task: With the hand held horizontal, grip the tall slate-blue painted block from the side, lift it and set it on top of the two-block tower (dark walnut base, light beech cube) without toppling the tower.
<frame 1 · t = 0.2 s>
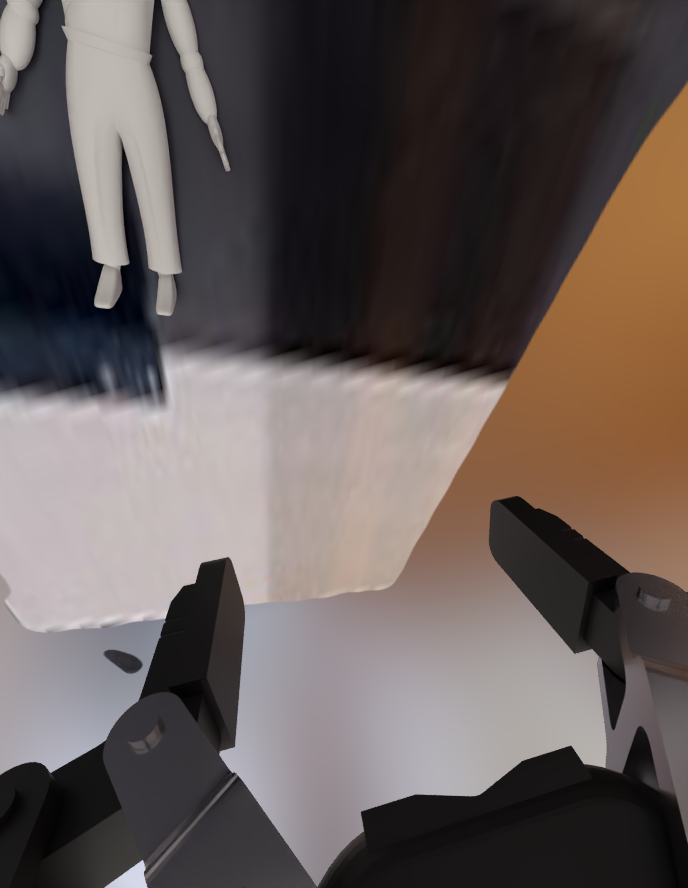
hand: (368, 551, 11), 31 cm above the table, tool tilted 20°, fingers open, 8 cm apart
figurine: (125, 107, 25), on the table
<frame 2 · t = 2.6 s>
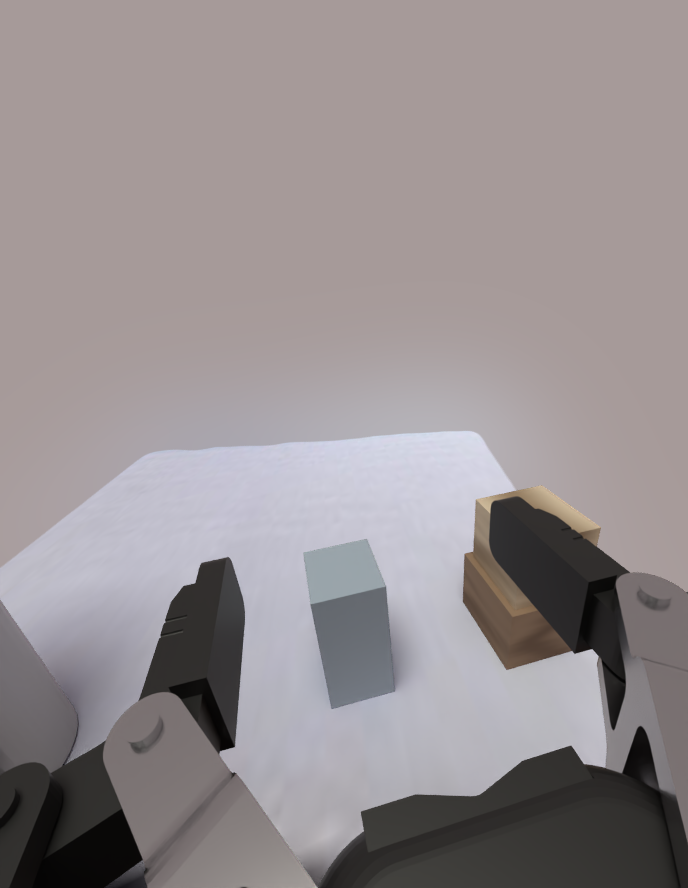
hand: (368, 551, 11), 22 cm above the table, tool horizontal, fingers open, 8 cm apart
beech block: (525, 572, 30), point 6 cm above the table, touching walnut block
slate block: (356, 669, 30), on the table
walnut block: (518, 623, 33), on the table, touching beech block
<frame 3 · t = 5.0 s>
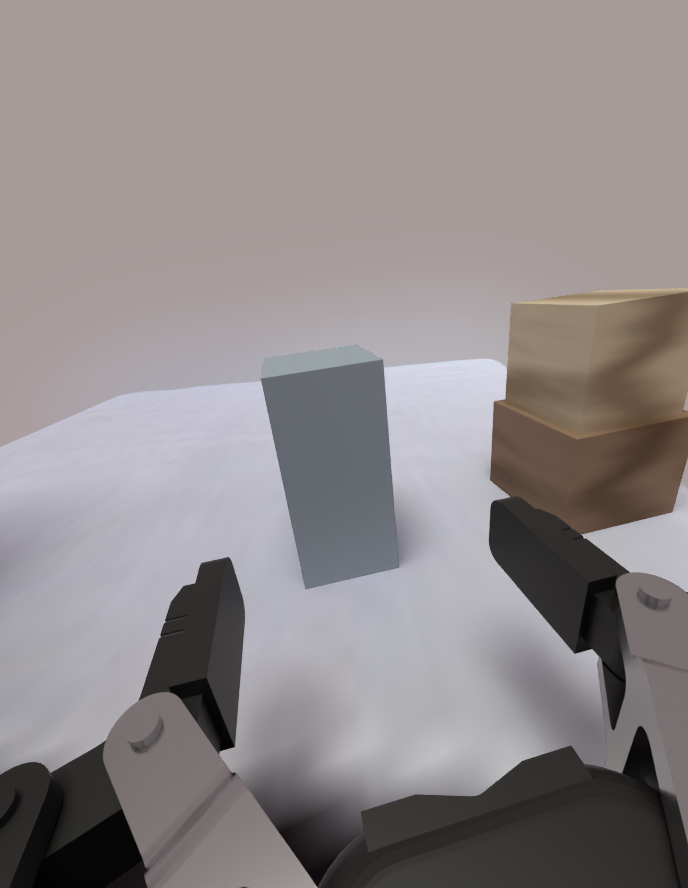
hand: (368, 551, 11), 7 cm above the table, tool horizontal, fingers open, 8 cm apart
beech block: (583, 407, 21), point 6 cm above the table, touching walnut block
slate block: (343, 547, 21), on the table
walnut block: (570, 495, 23), on the table, touching beech block
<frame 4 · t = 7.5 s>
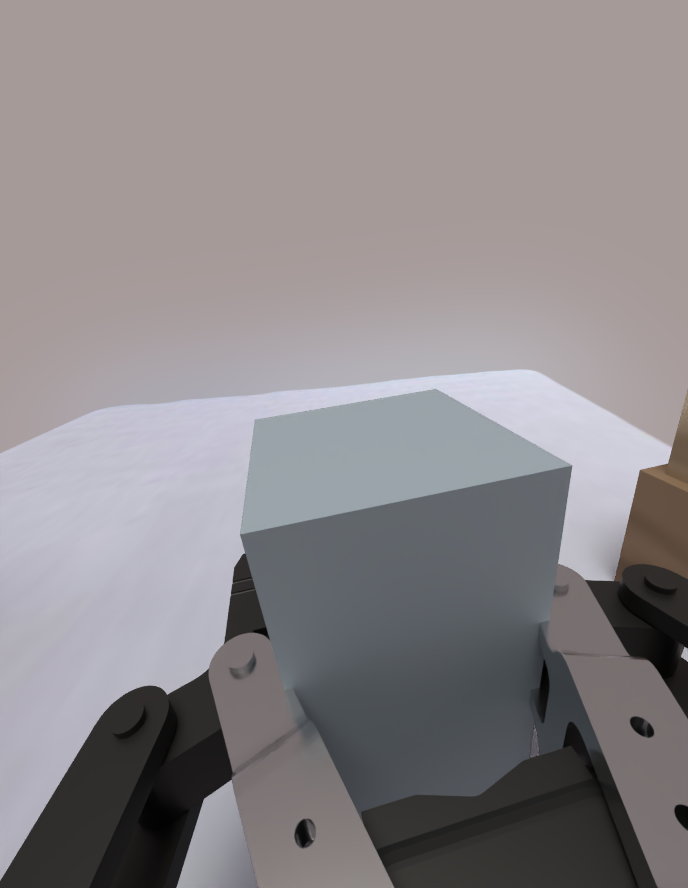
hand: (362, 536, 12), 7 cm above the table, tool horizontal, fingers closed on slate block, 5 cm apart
slate block: (401, 747, 12), on the table, touching gripper
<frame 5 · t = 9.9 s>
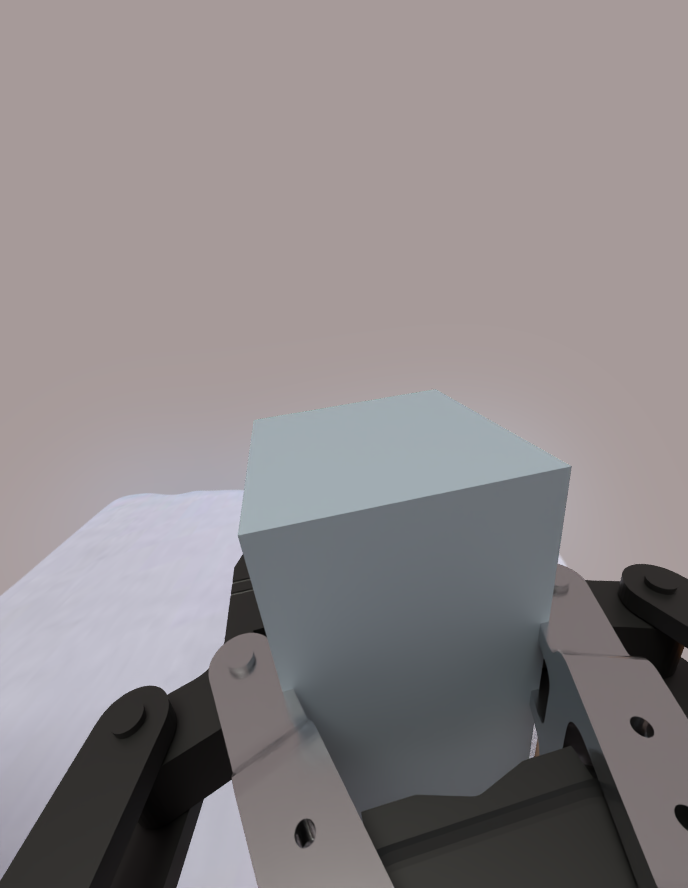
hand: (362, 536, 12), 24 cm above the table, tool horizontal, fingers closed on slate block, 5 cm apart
slate block: (400, 747, 12), point 17 cm above the table, touching gripper
when the fingers open (19 cm above the table, at t = 12.3 s): slate block stays where it is, resting on beech block.
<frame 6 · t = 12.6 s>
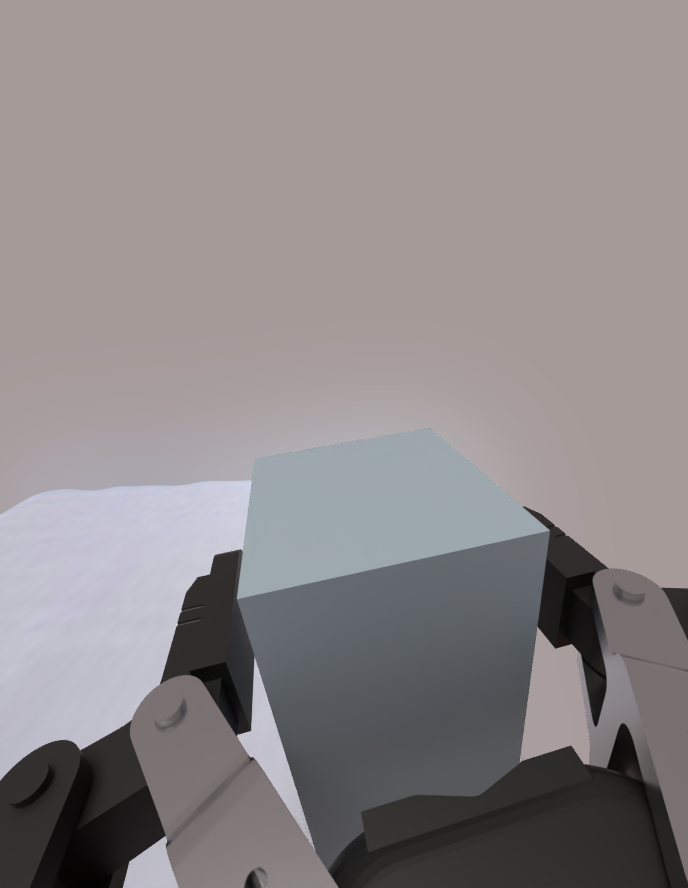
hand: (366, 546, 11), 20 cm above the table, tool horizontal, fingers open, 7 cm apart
slate block: (395, 768, 12), point 12 cm above the table, touching beech block
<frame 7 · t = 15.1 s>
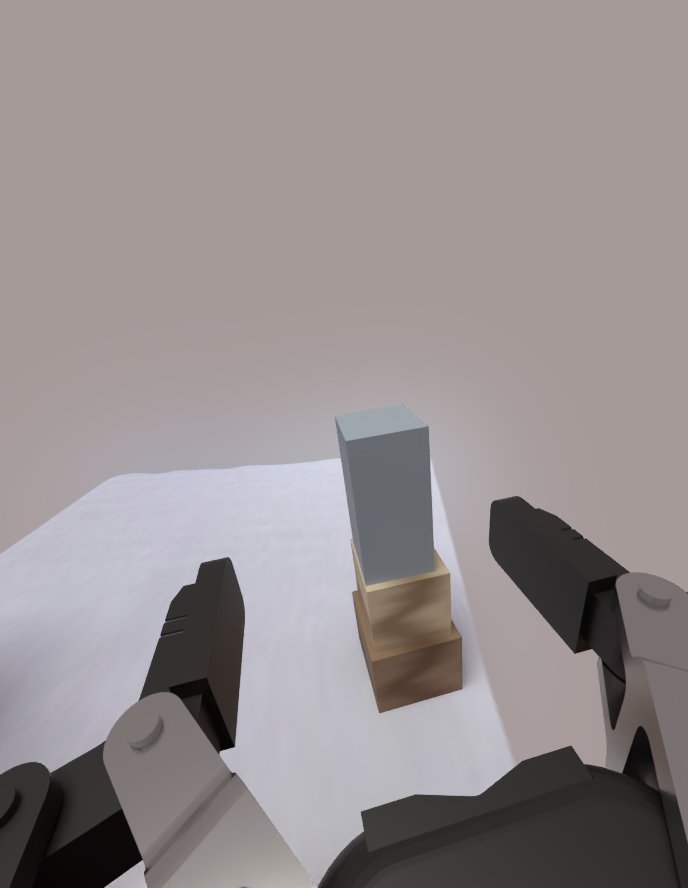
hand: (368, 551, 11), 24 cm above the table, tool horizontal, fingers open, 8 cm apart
beech block: (401, 612, 30), point 6 cm above the table, touching slate block, walnut block
slate block: (391, 555, 28), point 12 cm above the table, touching beech block
walnut block: (406, 662, 32), on the table, touching beech block
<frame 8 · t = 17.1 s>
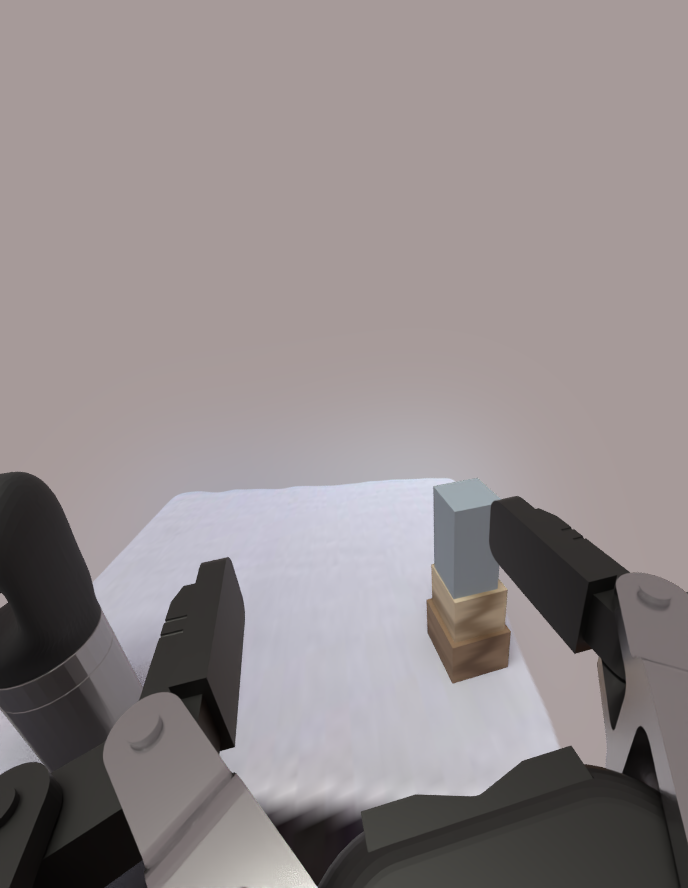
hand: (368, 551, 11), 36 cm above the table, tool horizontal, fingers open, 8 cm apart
beech block: (466, 614, 43), point 6 cm above the table, touching slate block, walnut block
slate block: (464, 577, 41), point 12 cm above the table, touching beech block
walnut block: (465, 649, 46), on the table, touching beech block
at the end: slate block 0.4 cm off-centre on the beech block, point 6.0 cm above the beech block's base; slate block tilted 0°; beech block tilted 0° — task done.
